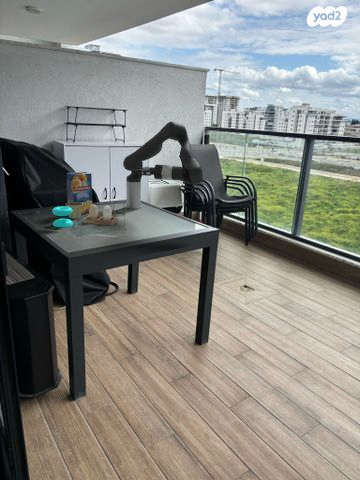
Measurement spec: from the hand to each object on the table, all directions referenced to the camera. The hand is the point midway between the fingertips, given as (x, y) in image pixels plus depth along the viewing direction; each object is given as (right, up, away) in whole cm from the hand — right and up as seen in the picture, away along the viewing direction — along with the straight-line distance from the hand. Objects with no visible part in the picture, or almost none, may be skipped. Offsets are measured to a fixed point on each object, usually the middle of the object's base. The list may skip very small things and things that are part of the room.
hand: (133, 170), depth 193 cm
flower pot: (-36, -25, +17) cm, 46 cm away
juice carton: (-35, -21, +28) cm, 50 cm away
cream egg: (-16, -27, +9) cm, 32 cm away
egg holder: (-20, -27, +10) cm, 35 cm away
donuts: (-37, -30, +2) cm, 48 cm away
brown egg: (-23, -26, +10) cm, 36 cm away
